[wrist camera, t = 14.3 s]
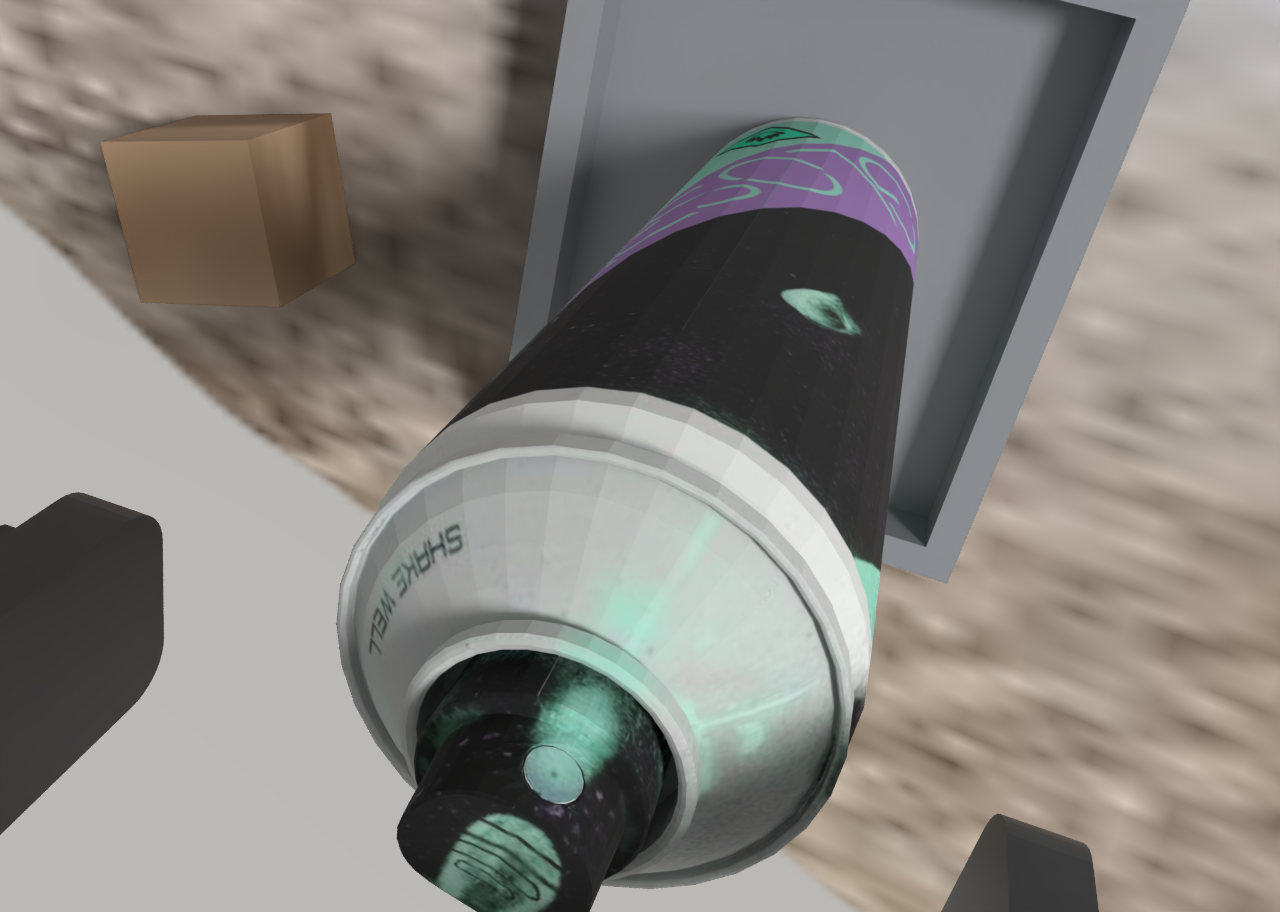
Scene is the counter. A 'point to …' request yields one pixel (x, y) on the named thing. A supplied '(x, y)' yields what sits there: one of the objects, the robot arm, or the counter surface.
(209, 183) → the walnut block
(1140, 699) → the counter surface
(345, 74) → the counter surface
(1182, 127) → the counter surface
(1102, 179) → the tray
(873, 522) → the spray can
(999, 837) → the robot arm
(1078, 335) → the counter surface
